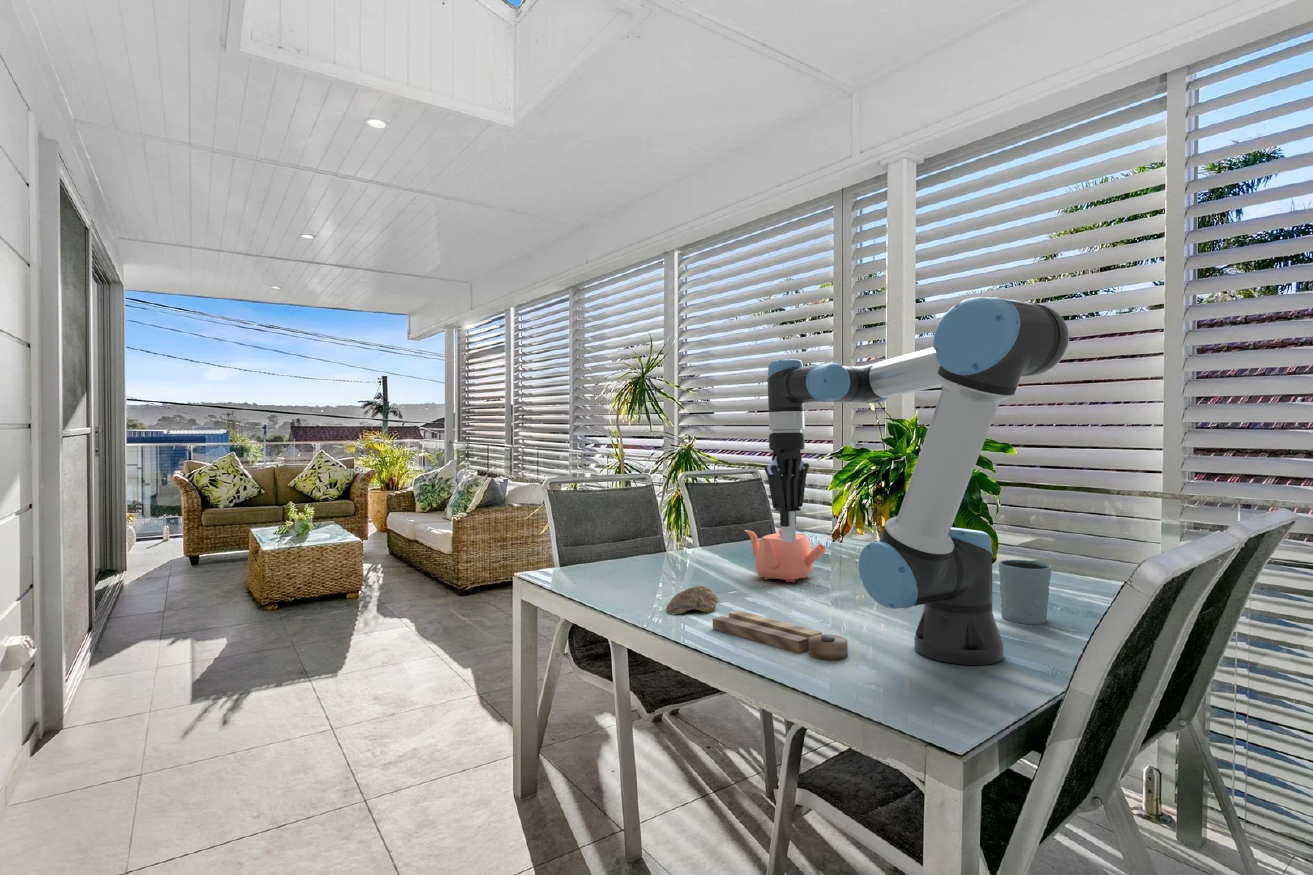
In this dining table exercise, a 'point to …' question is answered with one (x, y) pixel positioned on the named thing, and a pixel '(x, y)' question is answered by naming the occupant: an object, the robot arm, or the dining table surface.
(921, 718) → the dining table surface
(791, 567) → the teapot
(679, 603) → the brown rock
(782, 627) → the tongs swing jaw
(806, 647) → the bar
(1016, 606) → the pale blue plant pot
